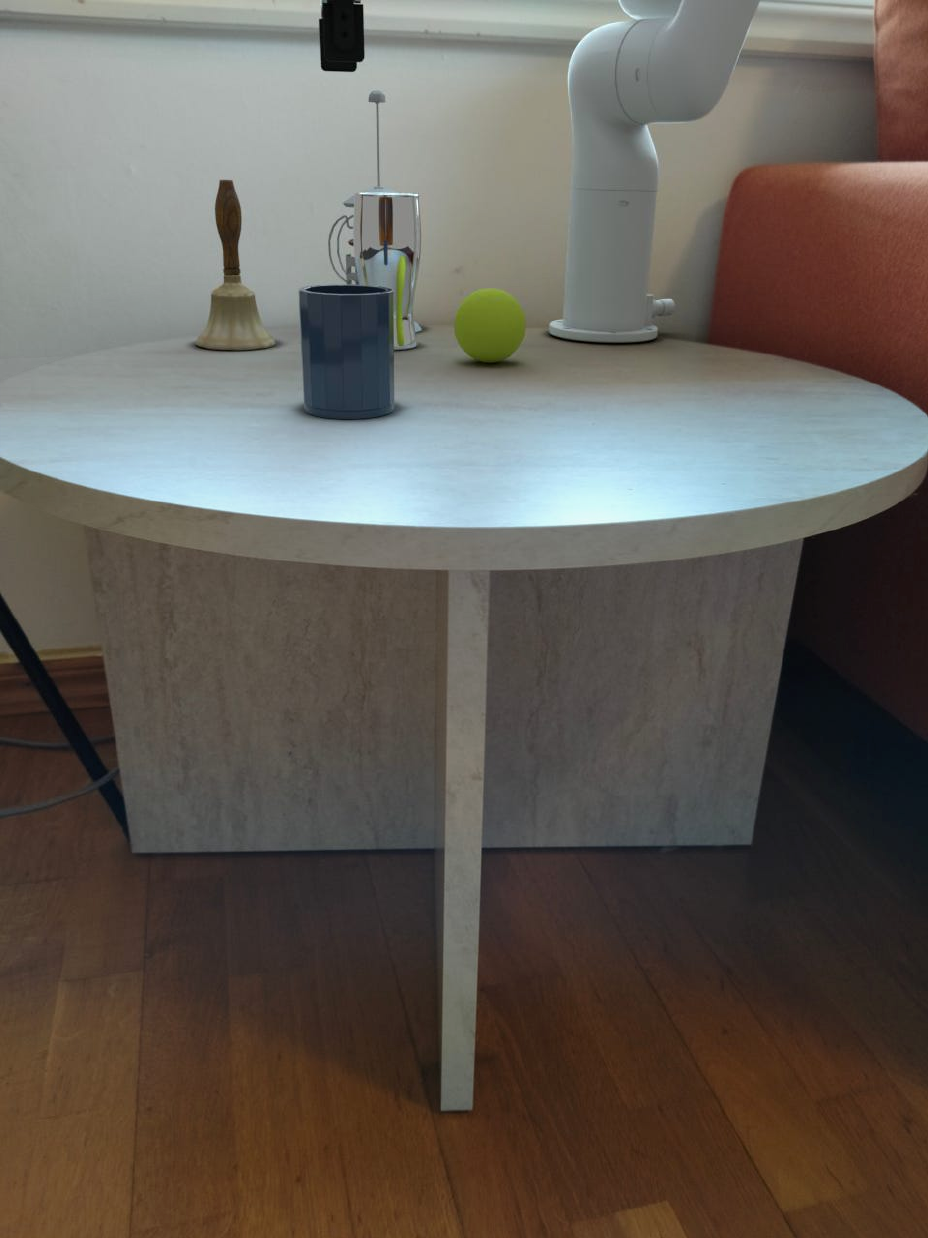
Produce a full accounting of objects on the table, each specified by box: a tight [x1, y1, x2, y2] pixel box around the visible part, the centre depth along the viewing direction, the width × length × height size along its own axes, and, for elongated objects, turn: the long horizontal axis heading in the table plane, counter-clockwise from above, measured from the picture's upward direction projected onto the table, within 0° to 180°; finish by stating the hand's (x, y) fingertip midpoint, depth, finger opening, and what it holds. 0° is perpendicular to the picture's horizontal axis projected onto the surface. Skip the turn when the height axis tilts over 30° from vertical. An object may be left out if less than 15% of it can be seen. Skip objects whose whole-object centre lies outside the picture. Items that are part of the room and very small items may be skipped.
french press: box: [327, 89, 422, 333], centre depth 112 cm, size 10×12×25 cm
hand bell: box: [195, 179, 277, 351], centre depth 101 cm, size 8×8×16 cm
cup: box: [297, 283, 395, 420], centre depth 76 cm, size 7×7×9 cm
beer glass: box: [352, 192, 422, 351], centre depth 102 cm, size 7×7×15 cm
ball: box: [453, 287, 527, 364], centre depth 96 cm, size 7×7×7 cm
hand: (341, 66), depth 84 cm, fingers open, 9 cm apart
